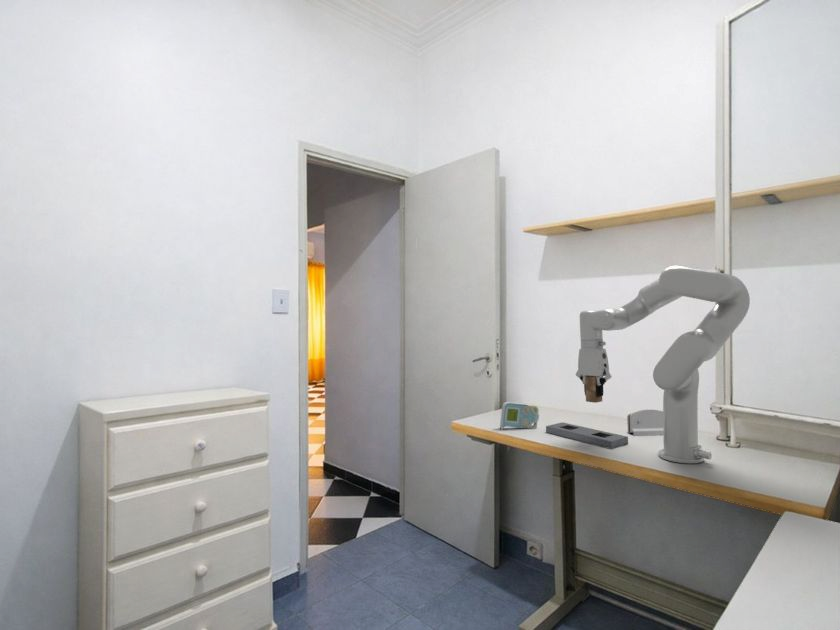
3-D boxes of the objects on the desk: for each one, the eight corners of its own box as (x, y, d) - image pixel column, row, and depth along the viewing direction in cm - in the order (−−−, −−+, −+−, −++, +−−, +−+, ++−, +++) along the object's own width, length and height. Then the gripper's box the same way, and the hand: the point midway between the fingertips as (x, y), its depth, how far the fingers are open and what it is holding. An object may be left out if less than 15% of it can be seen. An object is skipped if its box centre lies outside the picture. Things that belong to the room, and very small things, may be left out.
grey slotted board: (628, 443, 166) (627, 436, 166) (611, 448, 160) (611, 441, 160) (562, 428, 188) (562, 422, 188) (546, 432, 183) (545, 426, 183)
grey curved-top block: (633, 436, 176) (628, 409, 179) (627, 437, 180) (623, 410, 183) (677, 435, 176) (671, 408, 180) (670, 436, 181) (665, 409, 184)
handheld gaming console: (537, 433, 189) (501, 430, 187) (534, 431, 192) (499, 428, 190) (540, 406, 190) (504, 402, 188) (537, 404, 192) (502, 401, 190)
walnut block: (602, 401, 169) (601, 376, 169) (595, 402, 166) (594, 377, 167) (592, 400, 172) (591, 375, 172) (585, 401, 170) (584, 376, 170)
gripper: (619, 344, 165) (621, 396, 165) (578, 343, 178) (580, 392, 178) (606, 345, 161) (609, 399, 160) (565, 345, 174) (567, 394, 174)
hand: (593, 395), depth 169 cm, fingers closed on walnut block, 4 cm apart
